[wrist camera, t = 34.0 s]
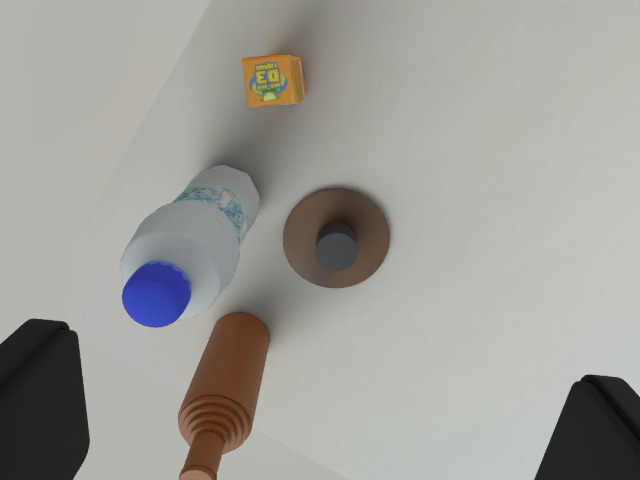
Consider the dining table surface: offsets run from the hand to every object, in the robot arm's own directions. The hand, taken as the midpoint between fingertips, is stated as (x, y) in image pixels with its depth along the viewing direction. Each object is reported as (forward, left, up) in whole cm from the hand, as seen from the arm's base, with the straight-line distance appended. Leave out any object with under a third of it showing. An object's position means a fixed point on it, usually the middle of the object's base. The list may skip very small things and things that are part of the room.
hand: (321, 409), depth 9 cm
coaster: (+2, -10, -33) cm, 35 cm away
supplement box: (-4, +4, -34) cm, 34 cm away
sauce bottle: (-7, -22, -33) cm, 41 cm away
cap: (+2, -10, -33) cm, 34 cm away
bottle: (-8, -7, -34) cm, 35 cm away
